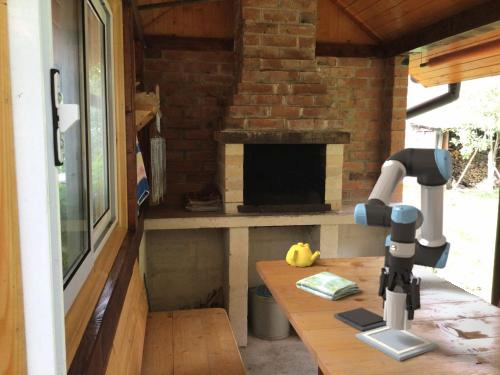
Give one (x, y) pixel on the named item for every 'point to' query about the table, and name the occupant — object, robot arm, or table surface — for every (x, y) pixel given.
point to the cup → (395, 308)
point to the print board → (396, 342)
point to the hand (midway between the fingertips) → (397, 324)
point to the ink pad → (361, 319)
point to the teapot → (301, 255)
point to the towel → (327, 285)
